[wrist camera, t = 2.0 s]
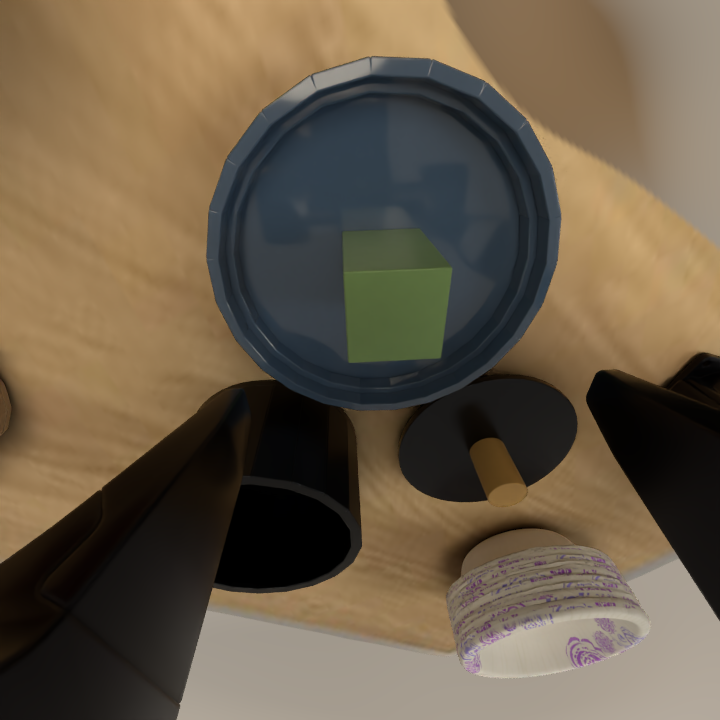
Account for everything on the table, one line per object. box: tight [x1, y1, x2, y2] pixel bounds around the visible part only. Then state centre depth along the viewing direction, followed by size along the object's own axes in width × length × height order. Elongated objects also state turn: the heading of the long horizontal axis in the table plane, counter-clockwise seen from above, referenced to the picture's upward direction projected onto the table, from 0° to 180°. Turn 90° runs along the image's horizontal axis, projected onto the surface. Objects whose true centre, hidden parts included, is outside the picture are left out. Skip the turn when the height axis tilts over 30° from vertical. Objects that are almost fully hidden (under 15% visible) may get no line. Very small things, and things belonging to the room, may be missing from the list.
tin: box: [197, 380, 362, 593], centre depth 21 cm, size 11×11×7 cm
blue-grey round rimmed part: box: [206, 56, 561, 411], centre depth 16 cm, size 15×15×2 cm
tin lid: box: [398, 374, 578, 507], centre depth 22 cm, size 12×12×5 cm
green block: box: [342, 228, 452, 363], centre depth 14 cm, size 4×4×6 cm
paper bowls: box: [446, 529, 651, 678], centre depth 31 cm, size 15×15×8 cm
